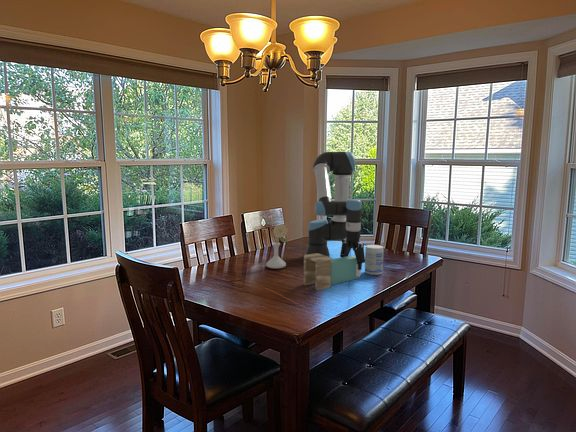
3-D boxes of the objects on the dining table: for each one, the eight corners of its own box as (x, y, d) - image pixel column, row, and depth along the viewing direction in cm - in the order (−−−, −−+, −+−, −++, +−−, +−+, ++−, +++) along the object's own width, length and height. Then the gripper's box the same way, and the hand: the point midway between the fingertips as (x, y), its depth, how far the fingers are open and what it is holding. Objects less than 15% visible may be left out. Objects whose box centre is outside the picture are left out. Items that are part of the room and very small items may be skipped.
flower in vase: (262, 268, 233) (261, 224, 229) (272, 263, 243) (272, 221, 239) (282, 271, 227) (282, 226, 223) (292, 266, 237) (292, 223, 233)
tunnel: (303, 285, 204) (303, 255, 202) (316, 282, 208) (316, 252, 206) (317, 291, 195) (317, 259, 193) (330, 288, 200) (331, 257, 197)
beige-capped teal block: (324, 282, 208) (325, 260, 206) (352, 275, 218) (353, 254, 217) (331, 284, 204) (331, 262, 202) (359, 278, 214) (360, 256, 213)
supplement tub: (379, 276, 219) (380, 249, 217) (362, 274, 223) (362, 247, 221) (384, 272, 227) (385, 245, 225) (368, 269, 232) (368, 243, 230)
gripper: (333, 227, 217) (332, 269, 221) (362, 234, 200) (361, 279, 204) (344, 226, 222) (343, 267, 225) (373, 232, 204) (372, 277, 208)
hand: (351, 273), depth 214 cm, fingers open, 8 cm apart
